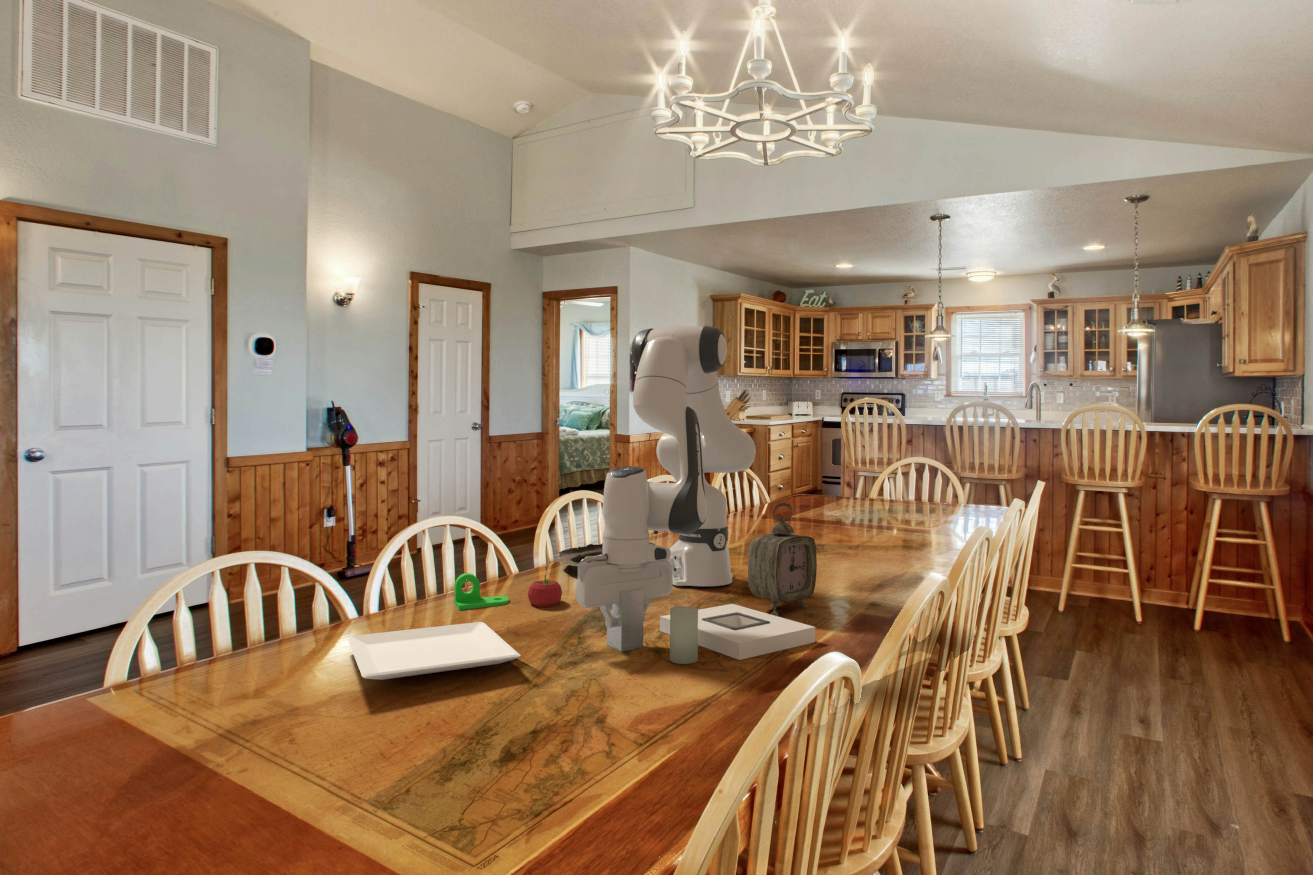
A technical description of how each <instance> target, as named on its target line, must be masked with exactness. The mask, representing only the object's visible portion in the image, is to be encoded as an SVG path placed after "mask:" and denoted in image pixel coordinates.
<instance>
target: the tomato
mask: <svg viewBox="0 0 1313 875" xmlns="http://www.w3.org/2000/svg"><path fill="white" fill-rule="evenodd" d="M562 595H563V590H562V587H561V584H560V583H559V582H558V581H556V580H550V579H548V578H547V575H546V574H544V579H542V580H535V581H533V582H532V583H531V584H530V585H529V587H528V592H527V597H528V600H529V601H528V602H530V604H531V605H532V606H534V607H537V608H548V607H549V608H550V607H555V606H556V605H557V604H559V603H560V602H561V599H562Z"/></svg>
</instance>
